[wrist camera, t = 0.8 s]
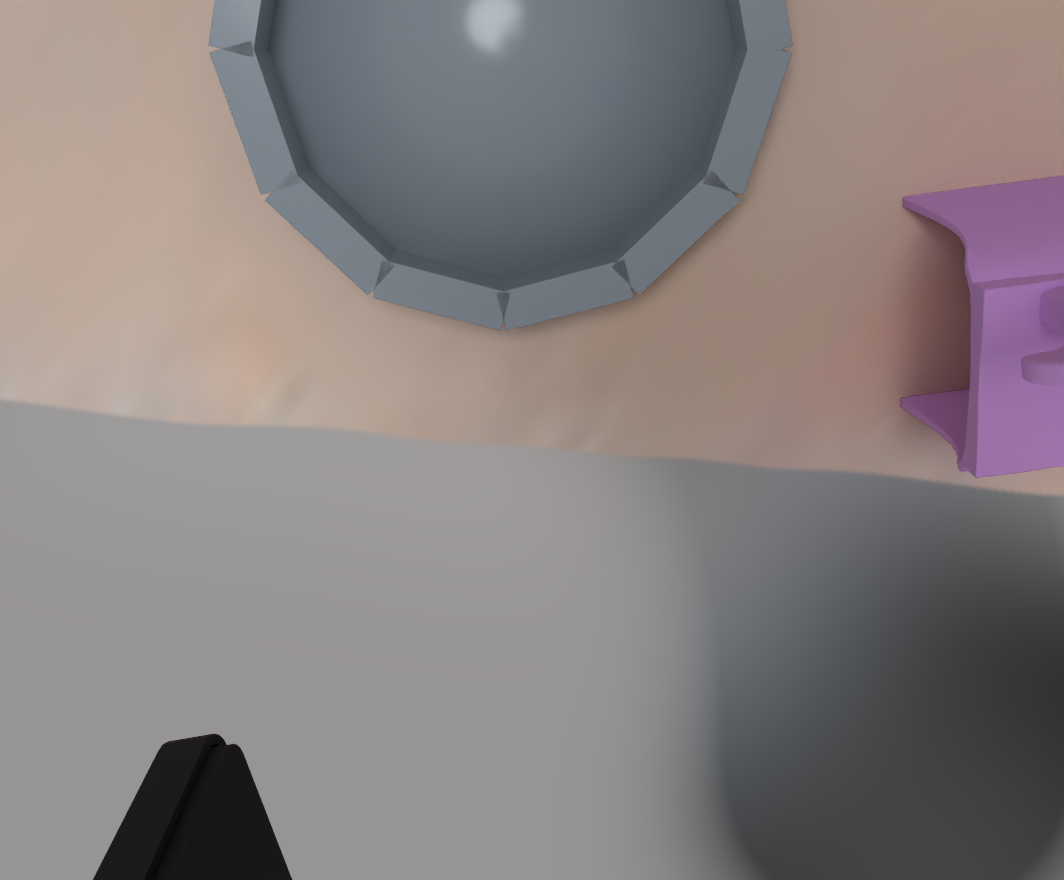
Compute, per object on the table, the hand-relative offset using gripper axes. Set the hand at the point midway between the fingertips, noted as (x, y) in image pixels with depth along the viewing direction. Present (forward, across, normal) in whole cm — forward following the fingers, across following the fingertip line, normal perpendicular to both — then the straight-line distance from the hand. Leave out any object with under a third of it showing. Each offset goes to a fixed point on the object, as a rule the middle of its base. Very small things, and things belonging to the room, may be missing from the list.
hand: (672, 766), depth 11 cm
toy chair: (+29, -15, +5) cm, 33 cm away
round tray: (+28, +1, -7) cm, 29 cm away
